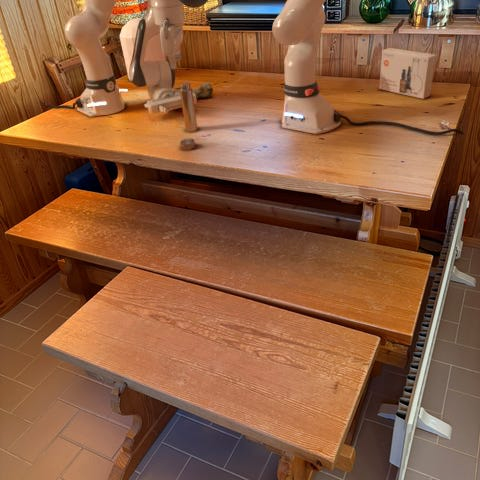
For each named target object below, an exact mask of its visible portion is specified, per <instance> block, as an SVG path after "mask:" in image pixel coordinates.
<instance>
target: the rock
mask: <svg viewBox="0 0 480 480" xmlns="http://www.w3.org/2000/svg"><path fill="white" fill-rule="evenodd" d="M192 92H193V93H194V94H195V95H196V98H197V100H198V99H199V100H200V99H208V98H211V96H212V95H213V93H214V88H213V86H212V84H211V82H209V81H206V82H203V84H200V85H199V87H197V88H192Z"/></svg>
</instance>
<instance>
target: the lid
mask: <svg viewBox="0 0 480 480" xmlns="http://www.w3.org/2000/svg"><path fill="white" fill-rule="evenodd" d="M179 143H180V149H181V150H182V151H191V150H193V149H195V148H196V142H195V139H193V138H185V139H182V140H180V142H179Z"/></svg>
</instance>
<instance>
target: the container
mask: <svg viewBox="0 0 480 480" xmlns="http://www.w3.org/2000/svg"><path fill="white" fill-rule="evenodd" d="M143 18H144V17H136V18H132V19H129V20H128V21H127V22H126V23H125V24H124V25H123V26H122V28H121V31H120V33H119V41H120V45H121V49H122V54H123V59H124V63H125V68H126V72H127V77H128V80H129V81H130V78H129V68H130V64H131V60H132V56H133V50H134V44H135V38H136V32H137V28H138V24H139V21H140V20H141V19H143ZM144 61H167V56H164V55H163V52H162V45H161V37H160V33H159V34H157V35H155V36H153V37H152V38H150V39H149V41H148V42H147V46H146V51H145V57H144Z"/></svg>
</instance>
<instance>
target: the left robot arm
mask: <svg viewBox="0 0 480 480" xmlns="http://www.w3.org/2000/svg"><path fill="white" fill-rule="evenodd" d="M117 1H118V0H84V5H83V8H82V10H81V11H80V13H78V14H76V15H73V16H72V17H70V19H68V20H67V22H66V24H65V26H64V35H65V37H66V39H67V40H68V42H69V43H70V44H71V45H72V46H73V47H74V48H75V50H76V52H77V54H78V56H79V58H80V60H81V63H82V66H83V70H84V74H85V79H84V82H83V83H85V89H84V91H83V92H82V93H81V95H80V96H79V97H78V98H77V99H76V100H75V102H73V103H72V106H71V105H67V104H61V105H54V104H49V103H48V104H46V105H45V106H44V109H47V108H49V107H50V108H52V109H61V108H67V109H71V110H74V109H77V111H78V112H80V113H82V114H84V115H86V116H88V117H91V118H92V117H93V118H94V117H98V116H107V115H109V116H110V115H113V114H116V113H119V112H121V111H123V110H124V109H125V108H126V106H125V105H126V101H125V100H123V95H122V93H121V92H128V89H127V88H126V89H125V88H120V87H119V86H118V85H117V81H116V76H115V74H114V72H113V68H112V63H111V60H110V56H109V54H108V53H107V52H106V50H105V49H104V47H103V45H102V42H101V38H103V37H105V35H106V34H107V32H108V30H109V26H110V21H111V17H112V14H113V10H114V8H115V5H116V3H117ZM142 18H143V19H141V20H140V21H139V24H138V28H137V32H136V38H135V44H134V50H133V56H132V60H131V64H130V68H129V78H130V80H129V81H130V82H131V83H132V85H134V86H136V87H137V88H143V87H147V94H148V97H149V99H150V100H147V101H146V103H144V104H143V106H144V108H145V109H147V111H148V113H149V114H151V115H156V114H159V113H165V114H167V113H170V111H172V110H177V109H180V108H182V103H181V96H180V89H181V88H180V87H174V86H175V84H176V72H175V69H171V66H170V62H169V60H166V61H144V57H145V51H146V46H147V42H148V41H149V39H150V38H152V37H153V36H155V35H157V34H159V33H160V25H156V24H155V20H154V14H153V8H152V0H147V9H146V12H145V14H144V16H143V17H142ZM129 78H128V79H129ZM193 99H194V105H196V104H197V103H198V99H197V98H196V95H195V94H194V93H193Z"/></svg>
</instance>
